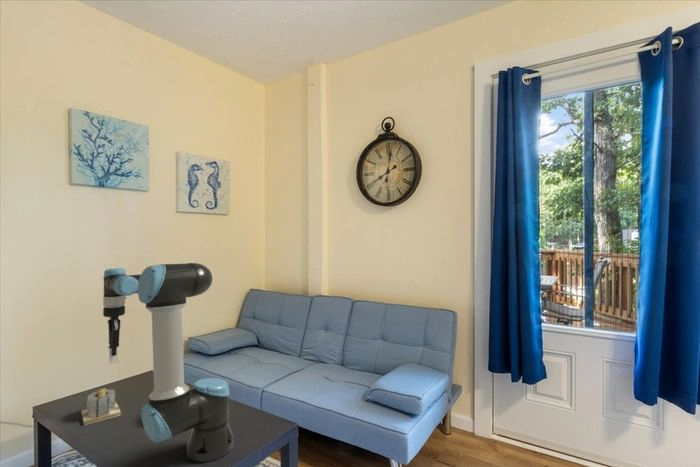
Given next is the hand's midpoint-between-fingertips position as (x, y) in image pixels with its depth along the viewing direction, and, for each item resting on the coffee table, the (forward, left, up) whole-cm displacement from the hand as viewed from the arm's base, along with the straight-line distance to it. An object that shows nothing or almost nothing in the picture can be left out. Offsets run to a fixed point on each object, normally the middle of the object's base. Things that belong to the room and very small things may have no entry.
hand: (113, 362), depth 145 cm
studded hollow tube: (0, +4, -19) cm, 19 cm away
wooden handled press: (0, +4, -20) cm, 21 cm away
